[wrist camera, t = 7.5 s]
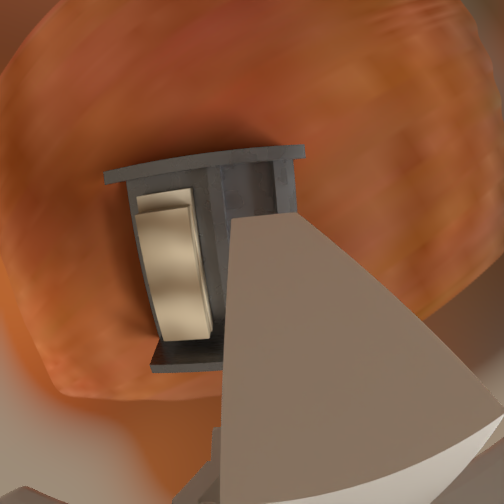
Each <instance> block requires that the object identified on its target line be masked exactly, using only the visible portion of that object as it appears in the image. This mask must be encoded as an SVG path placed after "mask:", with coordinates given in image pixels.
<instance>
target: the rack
mask: <svg viewBox="0 0 504 504" xmlns="http://www.w3.org/2000/svg"><path fill="white" fill-rule="evenodd" d="M302 158H306V157H305V146H304V144H303V145H284V146H269V147H256V148H245V149H235V150H226V151H218V152H210V153H202V154H195V155H189V156H182V157H176V158H170V159H164V160H158V161H153V162H148V163H142V164H137V165H132V166H128V167H123V168H119V169H114V170H110V171H105V172H103V173H104V181H105V185H107V184H112V183H118V182H125V181H126V184H127V191H128V198H129V205H130V211H131V217H132V223H133V229H134V234H135V239H136V245H137V250H138V254H139V259H140V264H141V268H142V273H143V277H144V282H145V286H146V290H147V294H148V298H149V302H150V306H151V309H152V313H153V317H154V321H155V324H156V328H157V331H158V334H159V338H160V339H159V342H158V344H157V347H156V349H155V352H154V355H153V357H152V360H151V363H150V367H151V370H152V373H178V372H202V371H218V370H223V357H224V335H225V315H226V296H227V279H228V262H229V247H230V232H231V219H233V218H242V217H251V216H261V215H271V214H281V213H292V212H297V203H296V189H295V177H294V165H293V160H294V159H302ZM190 187H192V188H193V196H194V203H195V211H196V218H197V226H198V233H199V240H200V246H201V253H202V259H203V266H204V272H205V278H206V284H207V290H208V296H209V302H210V307H211V313H212V318H213V330H212V332H210V338H209V339H195V340H179V341H164V340H163V337H162V333H161V330H160V326H159V323H158V319H157V315H156V311H155V308H154V304H153V300H152V296H151V292H150V287H149V283H148V279H147V275H146V270H145V265H144V261H143V256H142V251H141V246H140V241H139V236H138V230H137V224H136V218H135V215H136V214H138V213H139V211H138V204H137V198H136V197H137V196H140V195H145V194H150V193H157V192H163V191H169V190H176V189H183V188H190Z"/></svg>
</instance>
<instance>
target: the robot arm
mask: <svg viewBox="0 0 504 504" xmlns="http://www.w3.org/2000/svg"><path fill="white" fill-rule="evenodd" d="M220 456H221V427H214V428H213V432H212V451H211V461H207V462H206V463H205V464H204V466H203V467H202V468H201V469H200V470H199V471H198V472H197V474H196V475H195V476H194V477H193V478H192V479H191V480H190V481H189V482H188V483H187V485H186V486H185V487H184V488H183V489H182V490H181V491H180V492H179V493H178V494H177V495H176V496H175V497H174V498H173V500H172V504H220ZM0 504H68V503H65V502H63V501H60V500H57V499H55V498H53V497H50V496H48V495H46V494H43V493H41V492H39V491H37V490H35V489H33V488H30V487H27V486H23V487H20V488H17V489H15V490H13V491H11V492H9V493H7V494H5V495H3V496H2V497H1V498H0ZM430 504H504V437H503V438H502V439H500V440H499V441H498V442H496V443H495V444H494V445H492V446H491V447H490V448H489V449H487V450H485V451H484V452H482V453H481V454H479V455H478V456H476V457H475V458H473V459H472V460H471V461H470V463H469V464H468V465H467V466H466V467H465V468H464V470H463V471H462V472H461V473H460V474H459V475H458V476H457V477H456V478H455V479H454V480H453V481H452V483H451V484H450V485H449V486H448V487H447V488H446V489H445V490H444V491H443V492H442V493H441V494H440V495H438V496H437V497H436V498H435V499H434V500H433V501H432V502H431V503H430Z"/></svg>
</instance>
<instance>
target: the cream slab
mask: <svg viewBox="0 0 504 504" xmlns="http://www.w3.org/2000/svg"><path fill="white" fill-rule="evenodd" d="M221 414H222V415H221V456H220V504H430V503H431V502H432V501H433V500H434V499H435V498H436V497H437V496H438V495H440V494H441V493H442V492H443V491H444V490H445V489H446V488H447V487H448V486H449V485H450V484H451V483H452V481H453V480H454V479H455V478H456V477H457V476H458V475H459V474H460V473H461V472H462V471H463V470H464V468H465V467H466V466H467V465H468V464H469V463H470V461H471V460H472V459H473V458H474V457H475V455H476V454H477V453H478V451H479V450H480V449H481V448H482V447H483V445H484V444H485V443H486V441H487V440H488V439H489V437H490V436H491V434H492V433H493V432H494V430H495V429H496V427H497V426H498V424H499V423H500V422H501V420H502V419H503V417H504V407H503V406H502V405H501V404H500V403H499V402H498V400H497V399H496V398H495V397H494V396H493V395H492V394H491V393H490V391H489V390H488V389H487V388H486V387H485V386H484V385H483V384H482V382H480V380H479V379H478V378H477V377H476V376H475V375H474V374H473V373H472V372H471V371H470V370H469V368H467V366H466V365H465V364H464V363H463V362H462V361H461V360H460V359H459V358H458V357H457V356H456V355H455V354H454V353H453V352H452V351H451V350H450V349H449V348H448V347H447V346H446V345H445V344H444V343H443V342H442V341H441V340H440V339H439V338H438V337H437V336H436V335H435V334H434V333H433V332H432V331H431V330H430V329H429V328H428V327H427V326H426V325H425V324H424V323H423V322H422V321H421V320H420V319H419V318H418V317H417V316H416V315H415V314H414V313H413V312H411V311H410V310H409V309H408V308H407V307H406V306H405V305H404V304H403V303H402V302H401V301H400V300H399V299H398V298H396V297H395V296H394V295H393V294H392V293H391V292H390V291H389V290H388V289H387V288H385V287H384V286H383V285H382V284H381V283H380V282H379V281H378V280H377V279H375V278H374V277H373V276H372V275H371V274H370V273H369V272H367V271H366V270H365V269H364V268H363V267H362V266H361V265H359V264H358V263H357V262H356V261H355V260H354V259H353V258H351V257H350V256H349V255H348V254H347V253H345V252H344V251H343V250H342V249H341V248H340V247H338V246H337V245H336V244H335V243H334V242H332V241H331V240H330V239H329V238H328V237H326V236H325V235H324V234H323V233H322V232H320V231H319V230H318V229H317V228H315V227H314V226H313V225H312V224H310V223H309V222H308V221H307V220H305V219H304V218H303V217H302V216H300V215H299V214H298V213H297V212H292V213H281V214H271V215H261V216H251V217H242V218H233V219H231V232H230V247H229V262H228V279H227V296H226V315H225V335H224V357H223V383H222V413H221Z"/></svg>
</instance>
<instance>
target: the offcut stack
mask: <svg viewBox="0 0 504 504" xmlns="http://www.w3.org/2000/svg"><path fill="white" fill-rule="evenodd" d="M136 198H137V204H138V211H139V213H138V214H136V215H135V218H136V224H137V230H138V236H139V241H140V246H141V251H142V256H143V261H144V265H145V270H146V275H147V279H148V283H149V287H150V292H151V296H152V300H153V304H154V308H155V311H156V315H157V319H158V323H159V326H160V330H161V333H162V337H163V340H164V341H179V340H195V339H209V338H210V332H212V330H213V318H212V313H211V307H210V302H209V296H208V290H207V284H206V278H205V272H204V266H203V259H202V253H201V246H200V240H199V233H198V226H197V218H196V211H195V203H194V196H193V188H192V187H190V188H183V189H176V190H169V191H163V192H157V193H150V194H145V195H140V196H137V197H136Z"/></svg>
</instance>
